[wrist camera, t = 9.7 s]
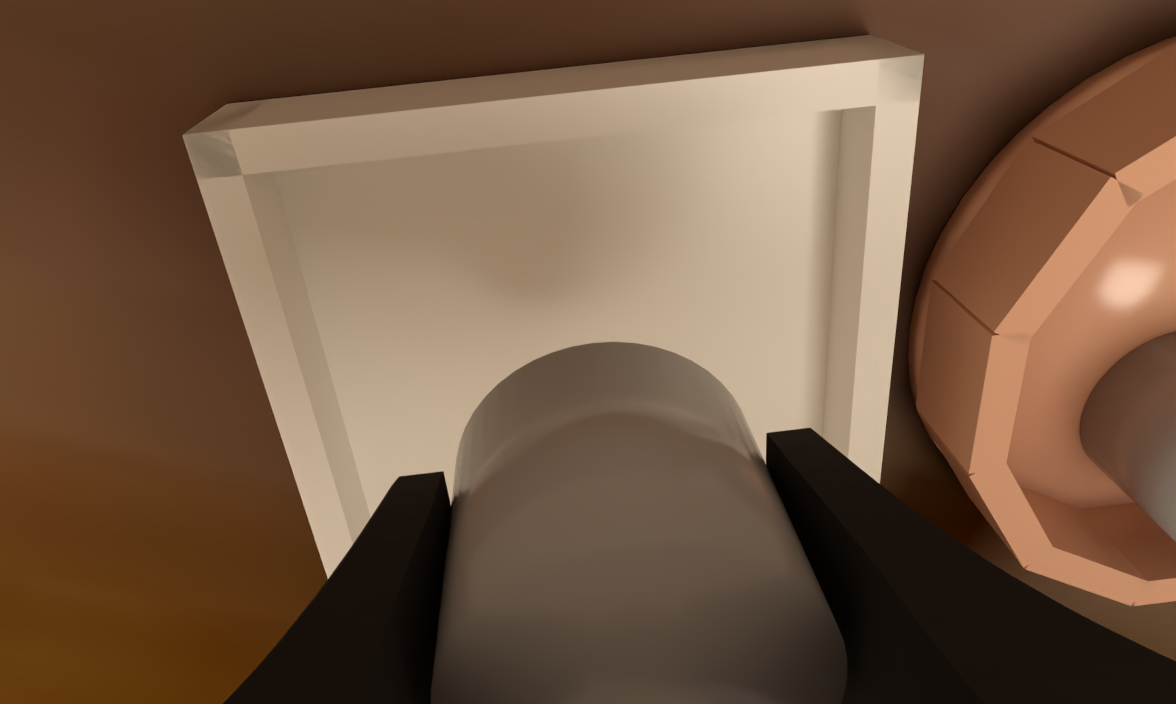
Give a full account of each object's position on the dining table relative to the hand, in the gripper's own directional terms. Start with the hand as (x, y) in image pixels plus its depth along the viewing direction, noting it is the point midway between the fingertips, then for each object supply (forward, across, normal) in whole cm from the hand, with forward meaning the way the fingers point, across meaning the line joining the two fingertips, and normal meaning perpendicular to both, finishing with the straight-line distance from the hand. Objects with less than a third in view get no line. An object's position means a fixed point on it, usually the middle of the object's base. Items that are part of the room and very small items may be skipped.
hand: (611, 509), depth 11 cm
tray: (+8, 0, +4) cm, 9 cm away
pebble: (+1, 0, 0) cm, 1 cm away
